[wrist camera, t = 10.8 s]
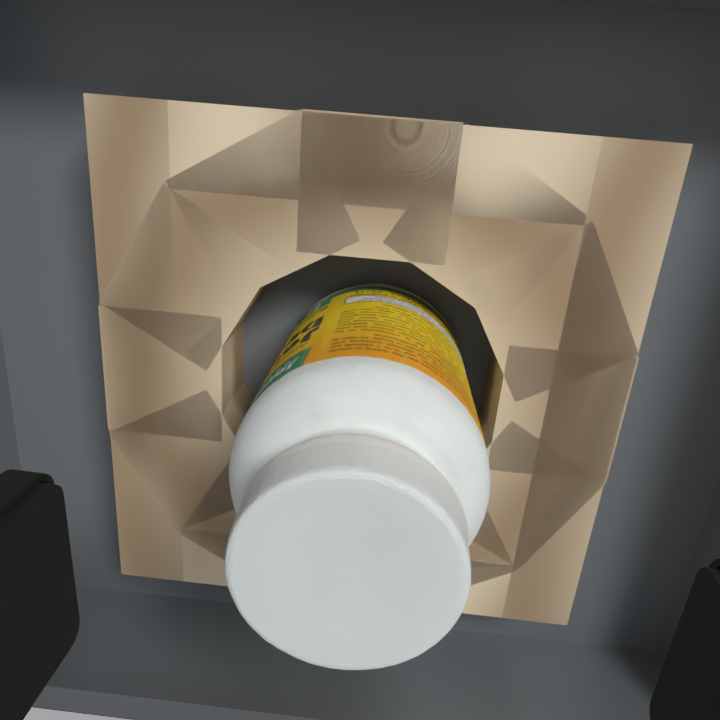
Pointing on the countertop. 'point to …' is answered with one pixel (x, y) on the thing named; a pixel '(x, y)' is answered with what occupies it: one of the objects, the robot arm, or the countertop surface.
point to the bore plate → (385, 242)
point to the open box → (333, 273)
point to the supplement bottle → (358, 485)
